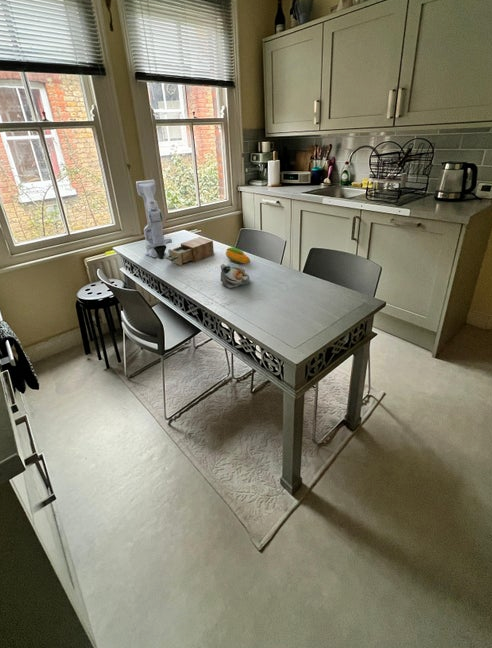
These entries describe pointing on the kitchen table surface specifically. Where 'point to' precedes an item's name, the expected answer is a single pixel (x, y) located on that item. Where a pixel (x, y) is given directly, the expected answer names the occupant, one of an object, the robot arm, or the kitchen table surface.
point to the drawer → (177, 257)
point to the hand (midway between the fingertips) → (161, 258)
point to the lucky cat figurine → (233, 275)
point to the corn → (237, 255)
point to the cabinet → (200, 248)
